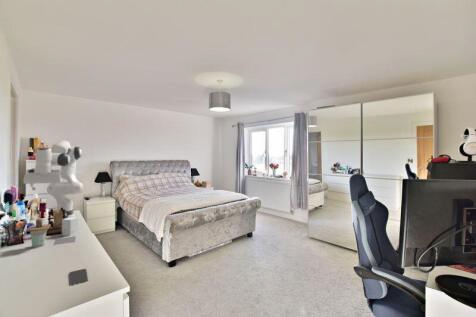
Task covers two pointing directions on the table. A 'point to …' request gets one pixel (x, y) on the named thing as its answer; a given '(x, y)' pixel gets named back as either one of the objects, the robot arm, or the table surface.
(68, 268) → the table surface
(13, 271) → the table surface
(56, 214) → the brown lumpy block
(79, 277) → the smartphone
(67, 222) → the supplement box
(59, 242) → the mat
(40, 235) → the coffee cup
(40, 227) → the lid
